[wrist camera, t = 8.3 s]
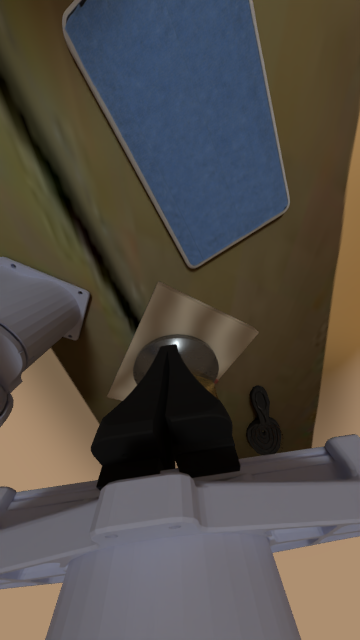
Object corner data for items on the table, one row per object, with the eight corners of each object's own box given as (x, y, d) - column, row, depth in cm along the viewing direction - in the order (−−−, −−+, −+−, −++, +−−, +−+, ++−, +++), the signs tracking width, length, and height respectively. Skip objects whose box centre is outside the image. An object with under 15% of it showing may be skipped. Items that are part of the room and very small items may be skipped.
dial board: (109, 389, 27) (106, 398, 26) (158, 281, 19) (157, 284, 17) (186, 409, 32) (187, 417, 30) (253, 327, 23) (259, 333, 22)
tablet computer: (62, 38, 11) (50, 14, 10) (215, -140, 9) (223, -199, 8) (189, 270, 19) (190, 272, 18) (285, 210, 17) (294, 208, 16)
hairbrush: (285, 390, 27) (288, 456, 37) (273, 375, 31) (279, 439, 41) (240, 402, 28) (255, 463, 38) (233, 385, 31) (249, 446, 42)
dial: (123, 385, 25) (113, 416, 20) (152, 320, 20) (147, 343, 15) (193, 402, 28) (197, 432, 23) (233, 351, 23) (248, 377, 18)
